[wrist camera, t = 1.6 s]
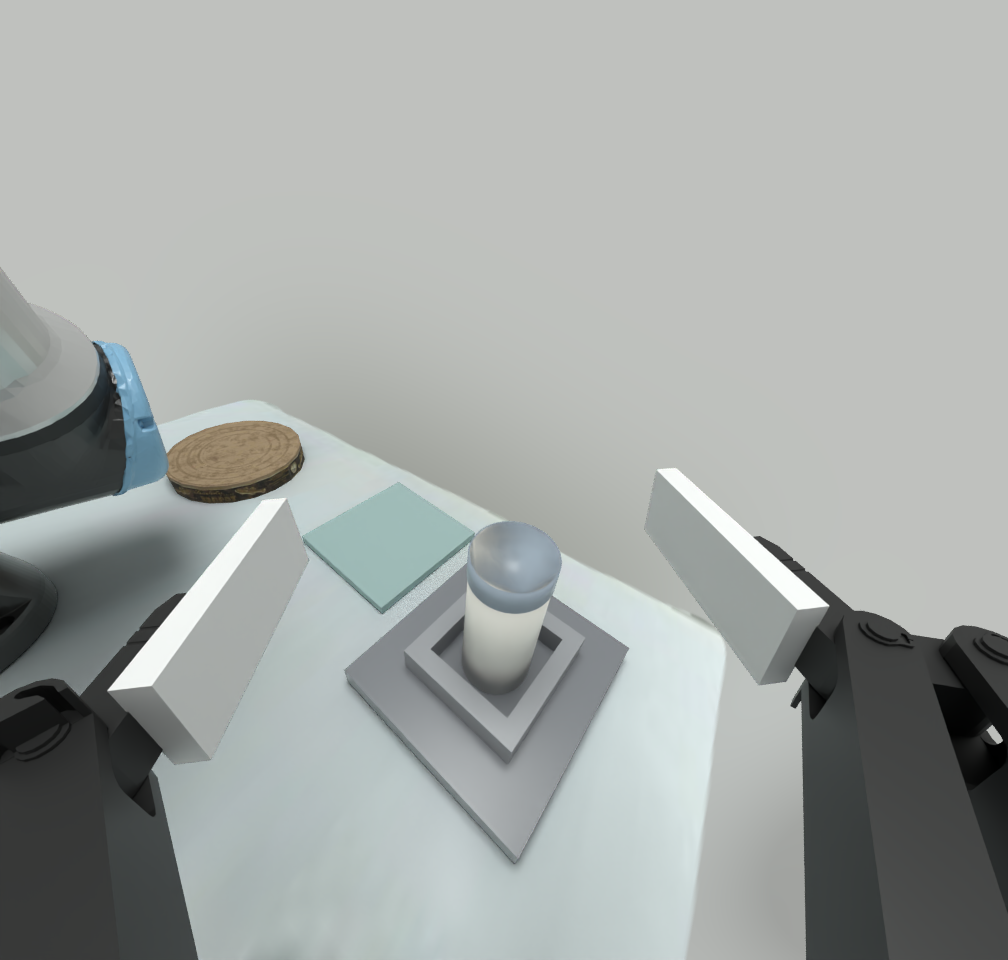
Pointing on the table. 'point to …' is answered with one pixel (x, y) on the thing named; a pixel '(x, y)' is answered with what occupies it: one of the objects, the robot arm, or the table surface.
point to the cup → (506, 602)
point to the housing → (489, 708)
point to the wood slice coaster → (234, 461)
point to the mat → (388, 544)
